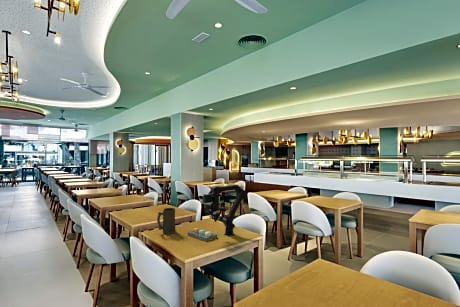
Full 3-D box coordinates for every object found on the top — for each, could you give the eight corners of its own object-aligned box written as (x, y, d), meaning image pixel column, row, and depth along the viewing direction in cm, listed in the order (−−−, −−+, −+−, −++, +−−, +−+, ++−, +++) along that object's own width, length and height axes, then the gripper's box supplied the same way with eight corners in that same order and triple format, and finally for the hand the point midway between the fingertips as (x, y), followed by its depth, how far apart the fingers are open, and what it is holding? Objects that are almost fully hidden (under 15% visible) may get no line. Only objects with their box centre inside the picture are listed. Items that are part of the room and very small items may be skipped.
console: (199, 231, 210) (199, 228, 210) (217, 237, 195) (217, 234, 195) (187, 235, 202) (187, 232, 202) (205, 241, 187) (205, 238, 187)
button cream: (208, 236, 197) (208, 231, 197) (212, 237, 194) (212, 232, 194) (203, 237, 194) (203, 232, 194) (207, 239, 190) (207, 233, 190)
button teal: (202, 234, 202) (202, 229, 202) (206, 235, 199) (206, 230, 199) (197, 235, 198) (197, 230, 198) (201, 237, 195) (201, 232, 195)
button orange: (196, 232, 207) (197, 227, 207) (200, 233, 203) (200, 228, 203) (192, 233, 203) (192, 228, 203) (196, 235, 200) (196, 230, 200)
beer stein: (172, 229, 218) (171, 206, 217) (178, 232, 210) (177, 208, 209) (156, 234, 207) (154, 210, 206) (162, 237, 199) (160, 212, 199)
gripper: (216, 199, 209) (216, 218, 209) (199, 202, 196) (199, 222, 195) (226, 201, 202) (226, 220, 202) (209, 204, 188) (209, 225, 188)
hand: (215, 221), depth 197 cm, fingers closed
